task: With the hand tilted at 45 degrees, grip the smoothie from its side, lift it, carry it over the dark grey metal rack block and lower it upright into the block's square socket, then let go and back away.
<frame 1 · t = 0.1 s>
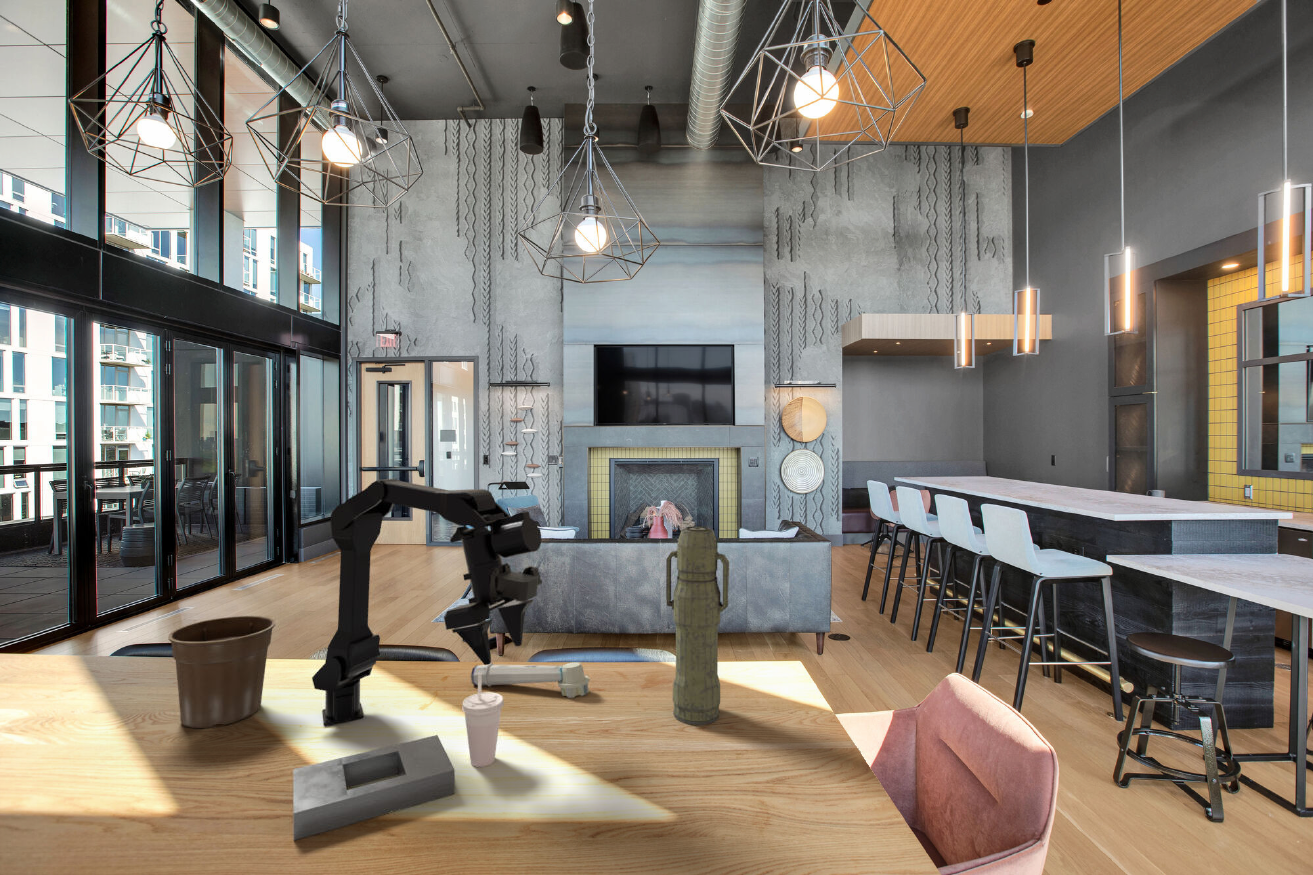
hand: (503, 654, 101), 15 cm above the table, tool pointing down, fingers open, 9 cm apart
smoothie: (482, 761, 97), on the table
thermos: (696, 715, 113), on the table
rack block: (373, 793, 87), on the table
toothbrush head: (530, 691, 125), on the table
plant pot: (223, 715, 112), on the table
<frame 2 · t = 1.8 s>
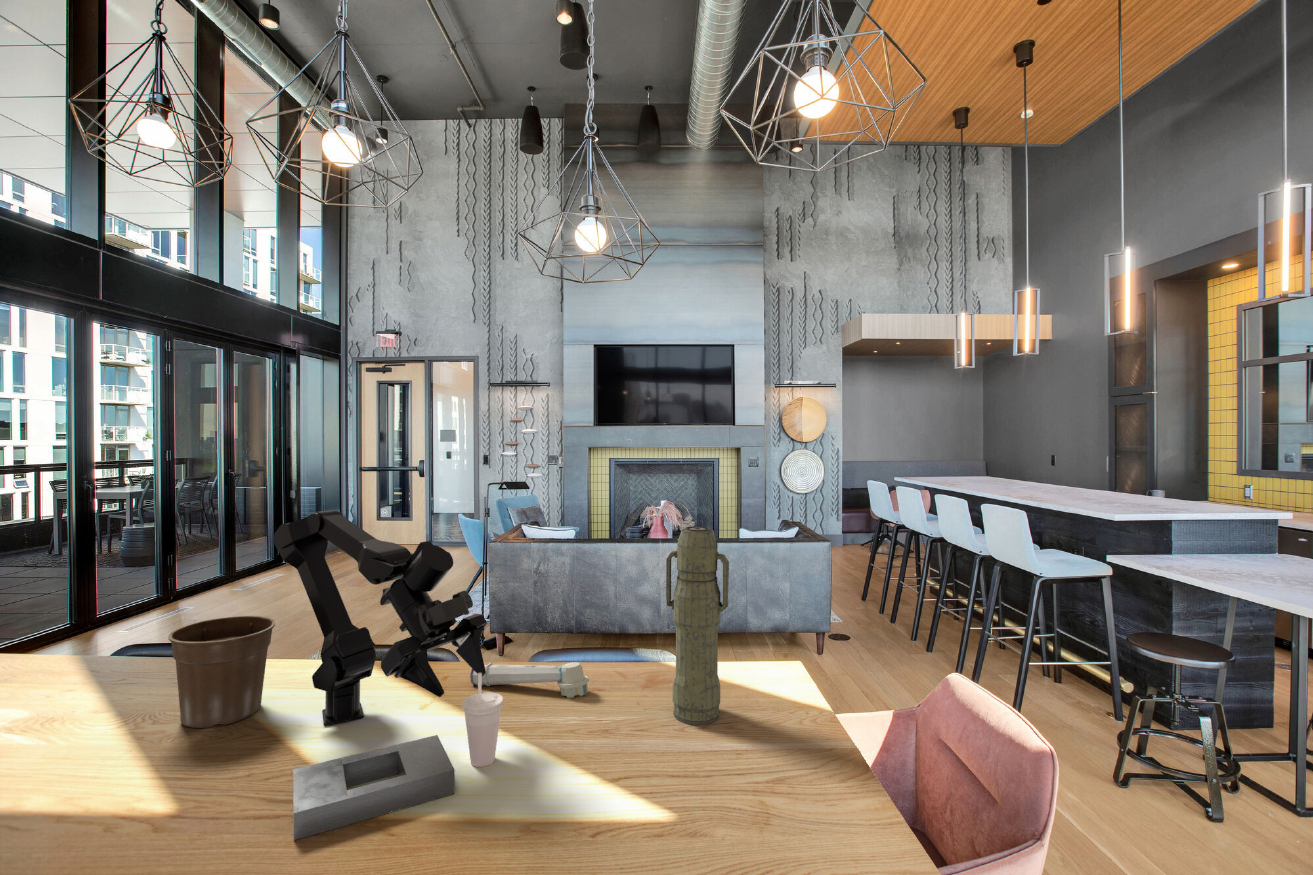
hand: (463, 684, 99), 11 cm above the table, tool tilted 45°, fingers open, 9 cm apart
nothing on the table moved.
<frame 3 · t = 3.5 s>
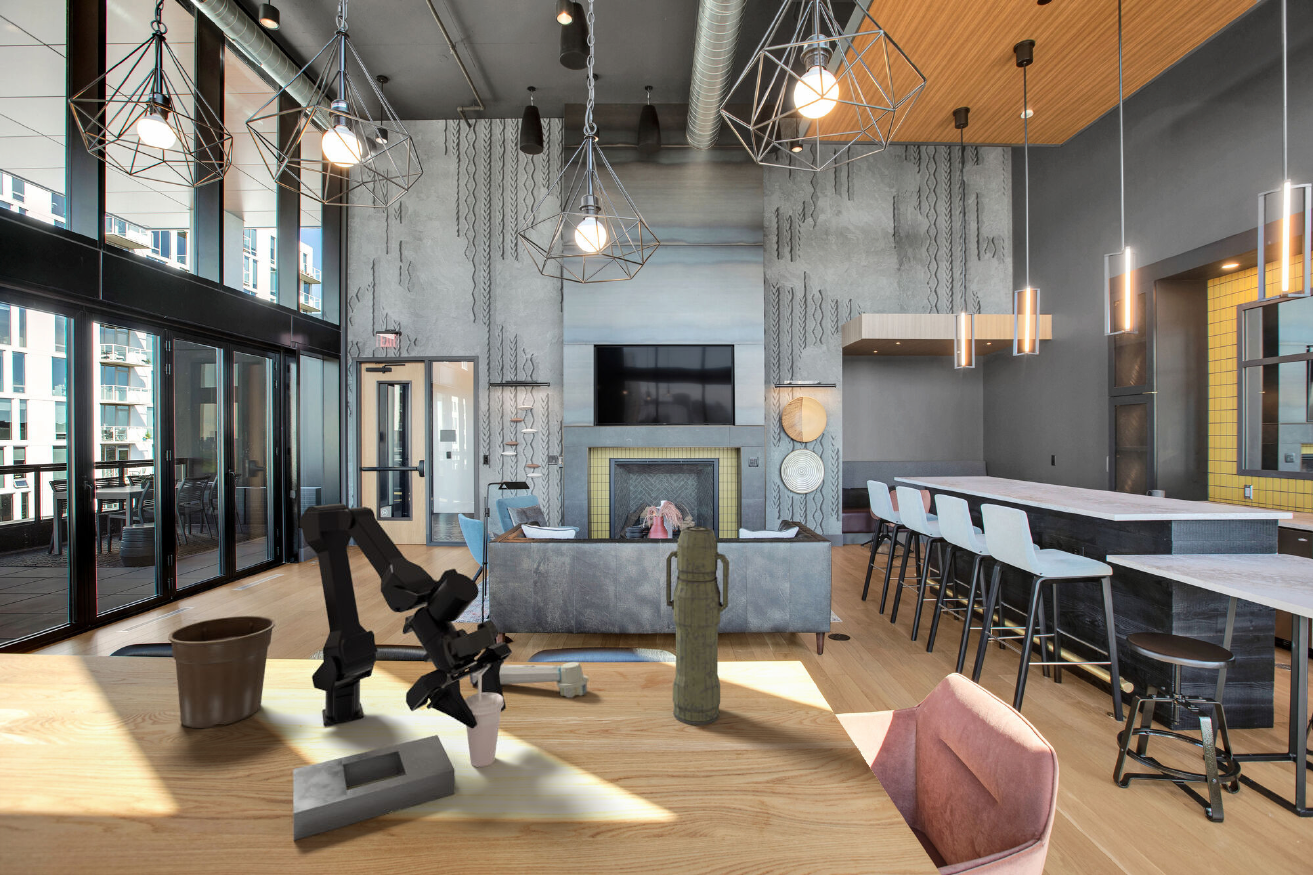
hand: (489, 718, 96), 7 cm above the table, tool tilted 45°, fingers closed on smoothie, 6 cm apart
smoothie: (482, 761, 97), on the table, touching gripper
everything else where it was.
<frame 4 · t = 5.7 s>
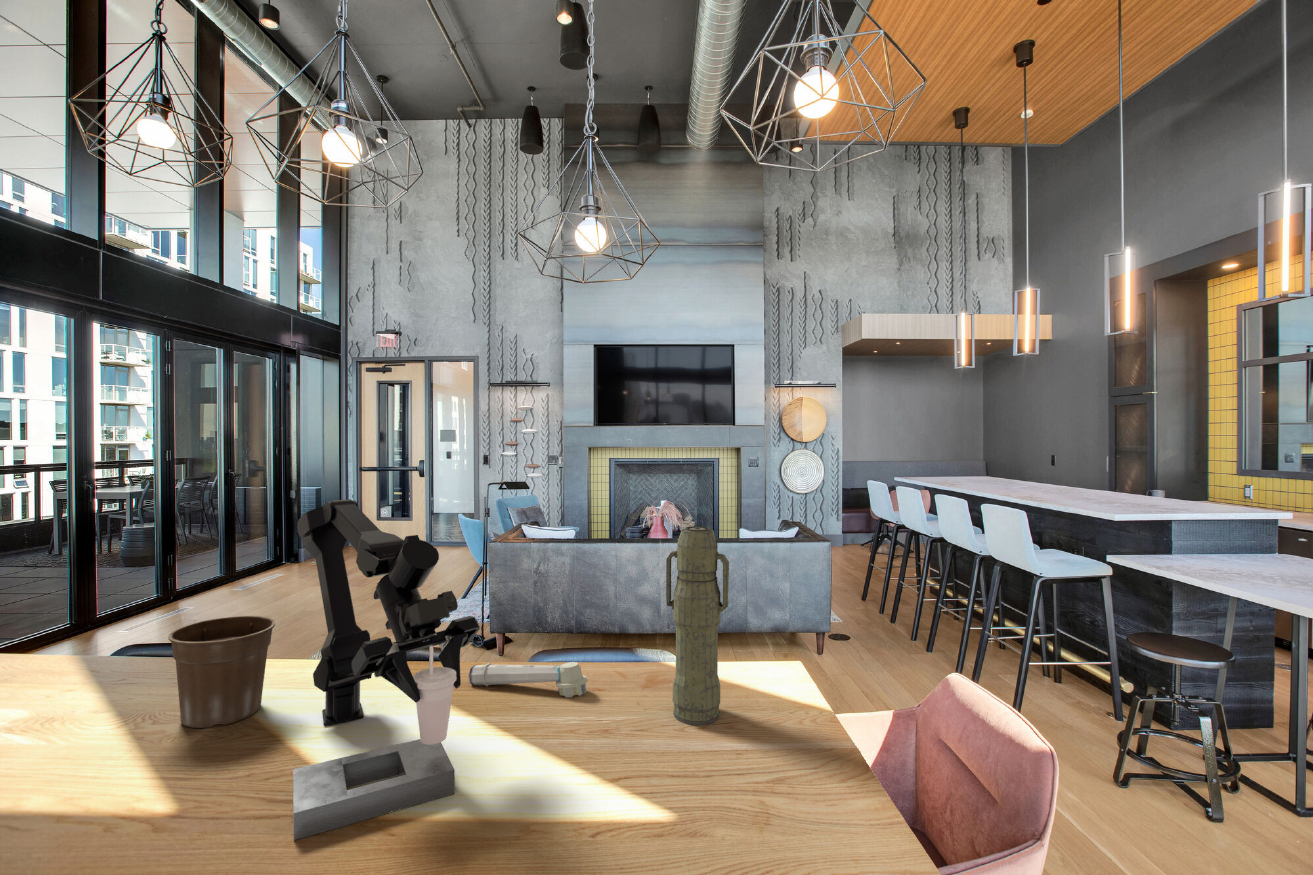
hand: (438, 693, 91), 13 cm above the table, tool tilted 45°, fingers closed on smoothie, 6 cm apart
smoothie: (433, 739, 92), point 6 cm above the table, touching gripper
everything else where it was.
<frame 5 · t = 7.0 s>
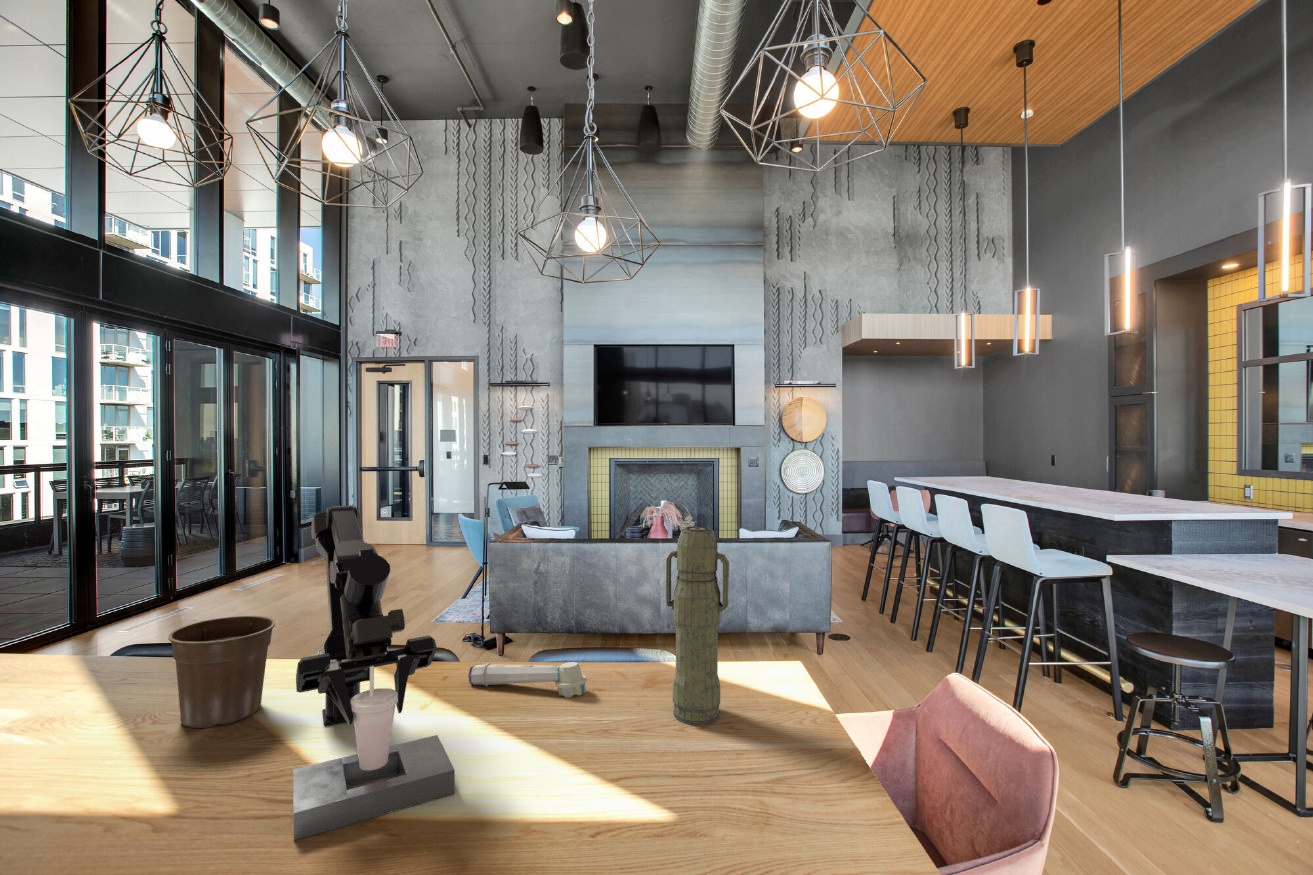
hand: (376, 717, 87), 11 cm above the table, tool tilted 45°, fingers closed on smoothie, 6 cm apart
smoothie: (373, 764, 88), point 4 cm above the table, touching gripper
everything else where it was.
when the fingers open (8 cm above the table, at t = 8.1 s): smoothie drops 1 cm, resting in rack block.
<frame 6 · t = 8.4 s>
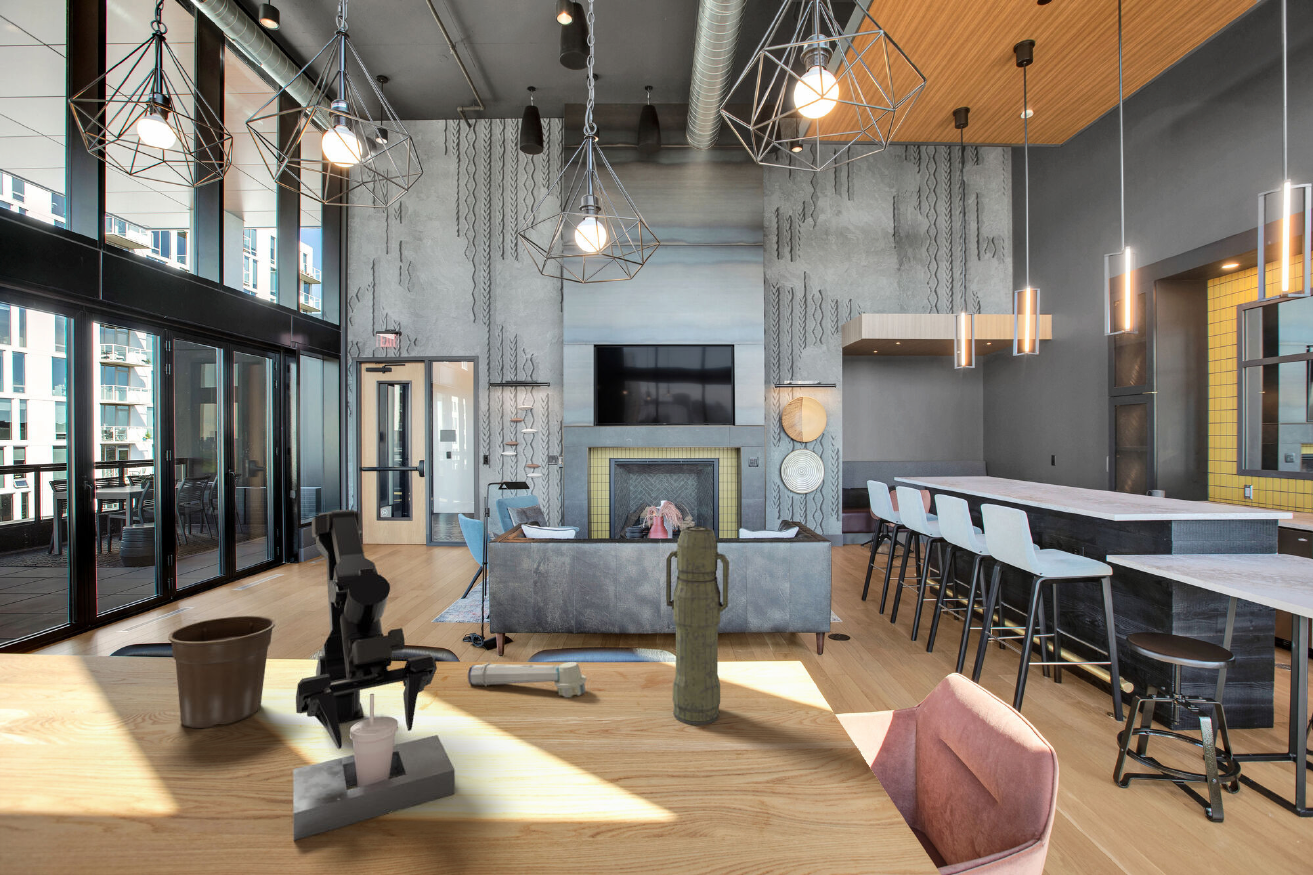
hand: (376, 738, 86), 9 cm above the table, tool tilted 45°, fingers open, 9 cm apart
smoothie: (373, 794, 87), resting in rack block
everything else where it was.
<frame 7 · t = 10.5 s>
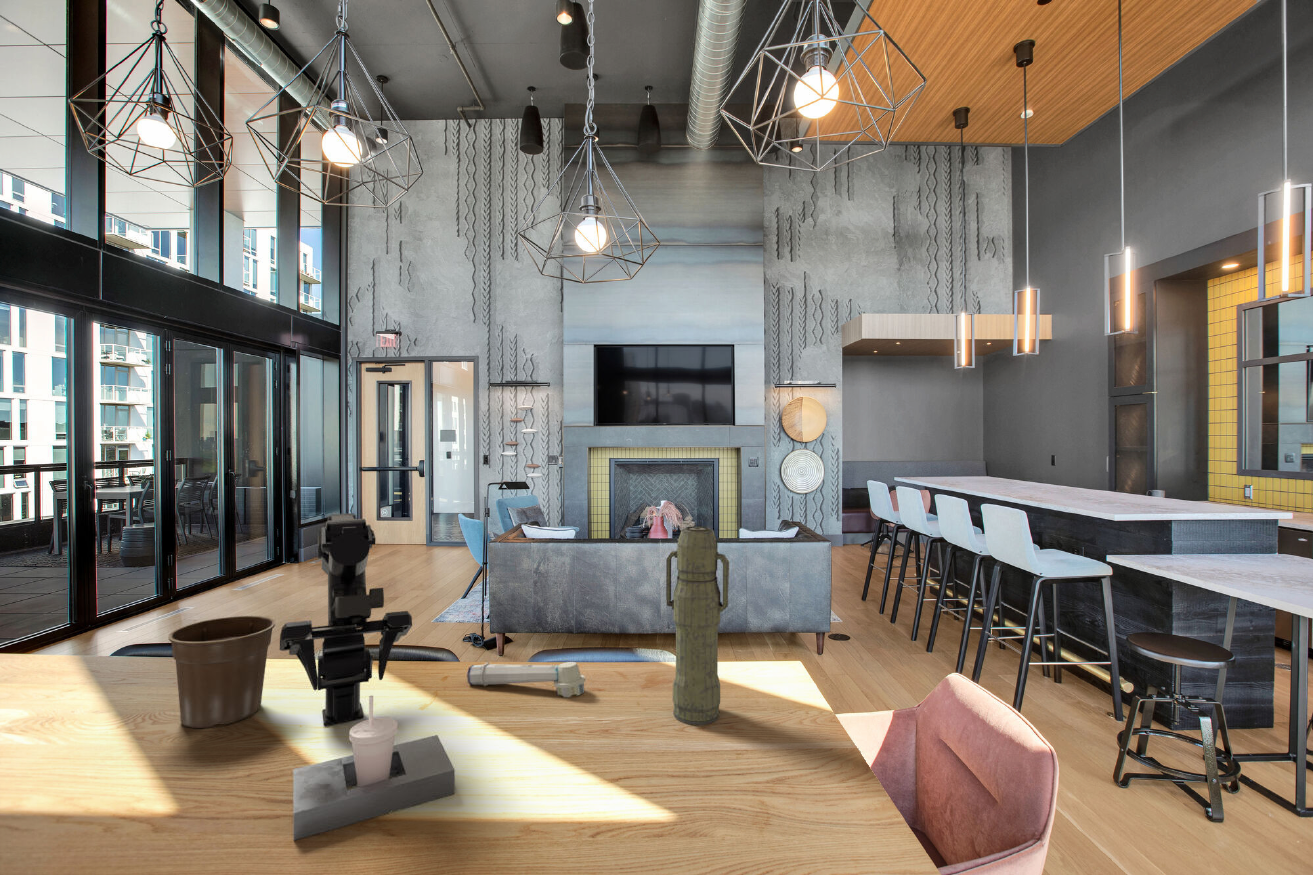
hand: (349, 684, 94), 13 cm above the table, tool tilted 35°, fingers open, 9 cm apart
nothing on the table moved.
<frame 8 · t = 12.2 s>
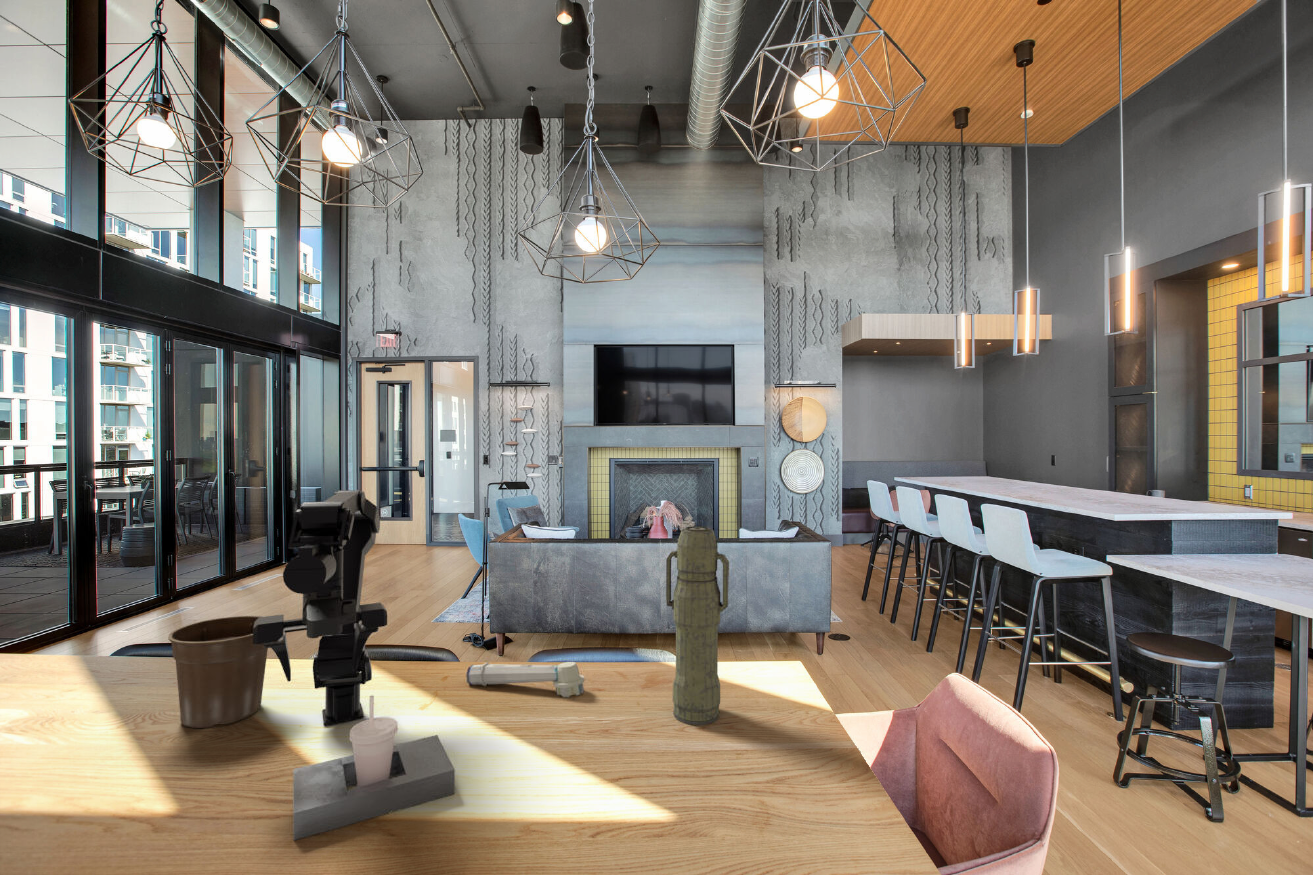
hand: (322, 674, 98), 13 cm above the table, tool pointing down, fingers open, 9 cm apart
at the end: smoothie 0.1 cm off-centre on the rack block, point 0.0 cm above the rack block's base; smoothie tilted 0°; the gripper is holding nothing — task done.
